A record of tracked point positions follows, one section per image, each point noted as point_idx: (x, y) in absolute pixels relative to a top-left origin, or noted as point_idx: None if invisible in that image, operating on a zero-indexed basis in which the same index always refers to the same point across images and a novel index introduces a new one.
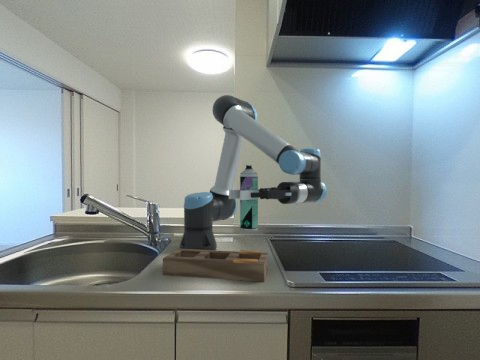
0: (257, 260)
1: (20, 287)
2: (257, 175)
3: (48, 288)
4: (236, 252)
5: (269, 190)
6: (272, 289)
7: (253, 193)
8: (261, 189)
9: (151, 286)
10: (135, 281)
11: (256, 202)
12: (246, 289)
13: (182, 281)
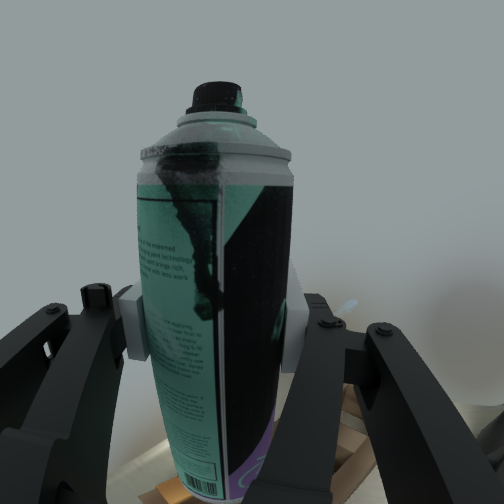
0: (164, 496)
1: (348, 303)
2: (140, 173)
3: (336, 314)
4: None
5: (56, 356)
6: (107, 491)
7: (127, 290)
8: (95, 292)
9: (284, 375)
10: None
11: (154, 377)
12: (152, 464)
13: (279, 410)
